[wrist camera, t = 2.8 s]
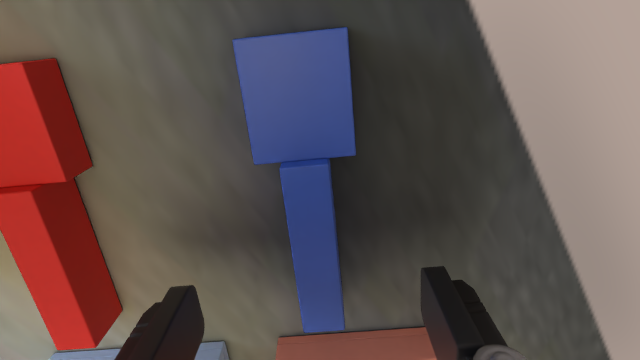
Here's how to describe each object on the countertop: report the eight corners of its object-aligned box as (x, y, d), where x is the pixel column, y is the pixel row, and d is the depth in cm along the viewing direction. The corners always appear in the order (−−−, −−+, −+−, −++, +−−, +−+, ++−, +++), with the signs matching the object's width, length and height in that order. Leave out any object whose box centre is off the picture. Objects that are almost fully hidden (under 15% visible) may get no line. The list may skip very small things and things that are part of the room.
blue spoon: (363, 292, 18) (368, 329, 16) (285, 298, 18) (280, 335, 16) (344, 27, 14) (348, 27, 12) (242, 38, 14) (227, 39, 12)
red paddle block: (142, 308, 19) (118, 346, 17) (69, 314, 19) (35, 352, 17) (56, 58, 14) (7, 63, 12) (-39, 68, 15) (-105, 75, 12)
